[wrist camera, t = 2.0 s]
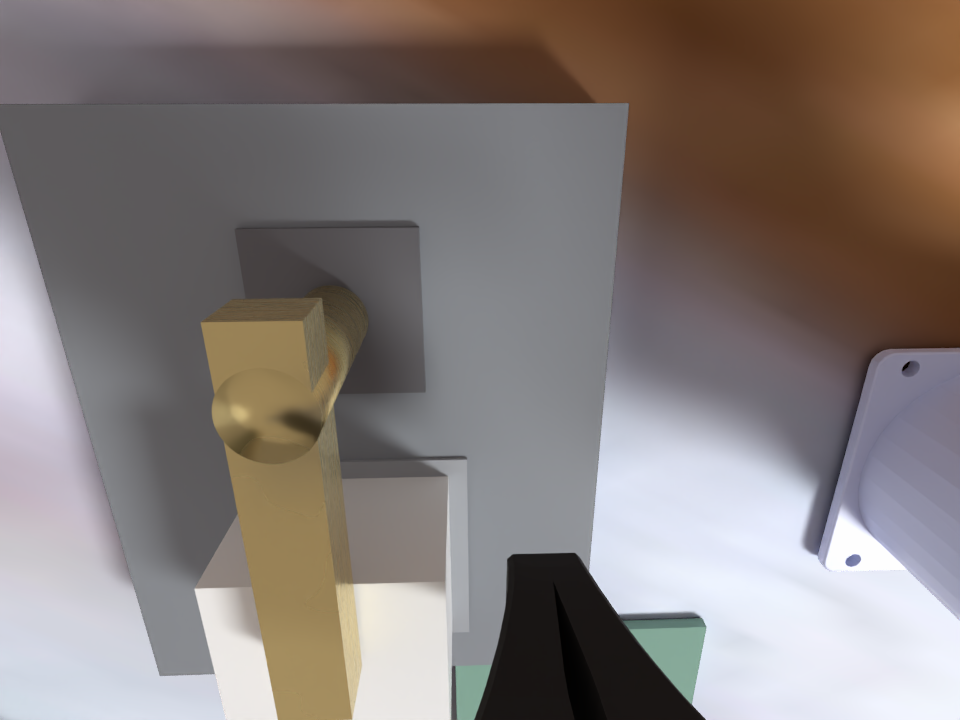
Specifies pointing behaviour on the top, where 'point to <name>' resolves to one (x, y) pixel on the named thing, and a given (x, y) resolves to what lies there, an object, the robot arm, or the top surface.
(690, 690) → the mat
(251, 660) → the white square block
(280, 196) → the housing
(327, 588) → the brass lever handle
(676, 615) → the top surface
